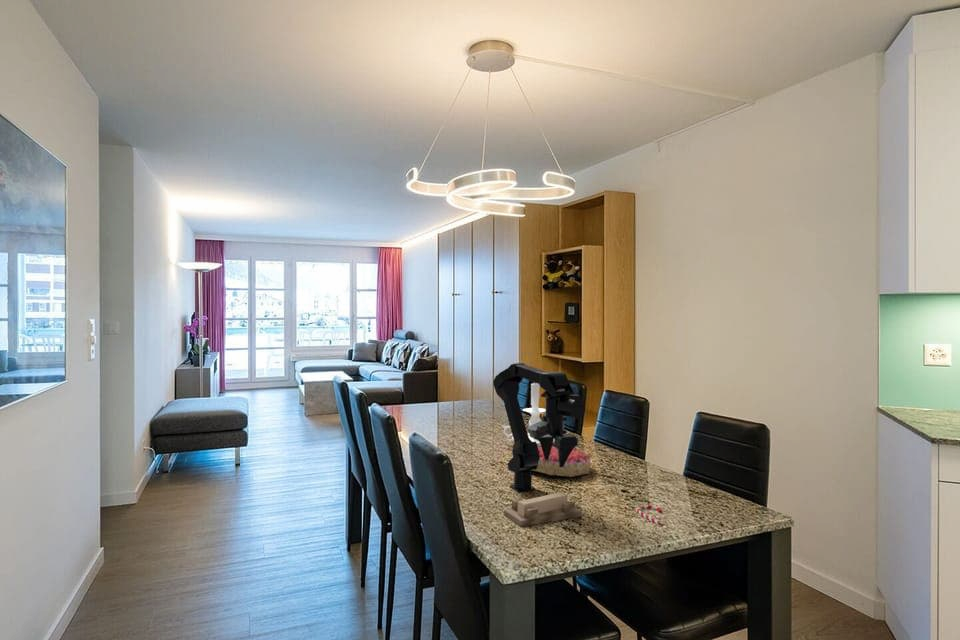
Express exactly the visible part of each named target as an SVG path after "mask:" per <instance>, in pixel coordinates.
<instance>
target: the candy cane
mask: <svg viewBox="0 0 960 640" xmlns="http://www.w3.org/2000/svg"><path fill="white" fill-rule="evenodd" d="M643 510H655V511H657V513H659V514H660V513H661V514H662V513H663V510H662V508H660V507H659V506H656V505H650V504H648V505H647V504H645V505H640V506H638V507H636V509H635V511H636V513H637V515H639V516H640V517H642V518H643V519H645V520H646V521H648V522H650V523H653V524H655V525H657V526H660V527H661V526H663V522H661V521H660V520H657V519H655V518H653V517H651V516H649V515H648V514H646V513H644V512H643Z"/></svg>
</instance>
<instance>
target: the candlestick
mask: <svg viewBox="0 0 960 640" xmlns="http://www.w3.org/2000/svg"><path fill="white" fill-rule="evenodd" d="M530 389H531V390H530V405H531V407H529V408H528V407H525V408H523V409H522V411H523V412H526V413H529V414H530V415H531V416H530V418H529V420H528V427H529V426H531V425H533V424H535V423H537V422H540V421H542V418H540V415H541V414H544V413H546V408H542V407H541V408H540V406H539V400H540V389H541V387H540V385H539V384H538V383H536V382H535V383H531V384H530ZM502 427H503V428H504V429H503V434H504V435H505V436H506V438H507V441H510V442H514V438H513V435H512V433H510V434H508V433H506V429H511V427H510V425H508V426H507V425H502ZM527 433H528V437H529V439H530V440H531V441H532V442H536V443H537V446H538V447H541V444H540V442H539V441H538V440H535V439H534V438H531V437H530V434H529V432H527ZM510 438H511V439H510ZM553 444H555V442H554V440H553Z"/></svg>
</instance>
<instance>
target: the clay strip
mask: <svg viewBox="0 0 960 640" xmlns="http://www.w3.org/2000/svg"><path fill="white" fill-rule="evenodd" d="M522 500H523V501H518V514H519V515H521V516H523V517H525V508H531V507H535V508H537V509H538V514H539V513H544V512H548V511H552V510H556V509H560V508H562V503H564V502H568V494H566V493H565V492H564V493H563V492H561V491H559V492H557V493H556V492H555V493H550V495H549V494H547V495H543V496H538V497H533V498H528V499H522Z"/></svg>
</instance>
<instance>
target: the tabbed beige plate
mask: <svg viewBox="0 0 960 640" xmlns="http://www.w3.org/2000/svg"><path fill="white" fill-rule="evenodd" d="M550 494H551V493H550ZM550 494H548V495H550ZM523 500H524V499H522V498H517V499H516V498H515V499H511V508H505V509H503V516H505V518H508V519H509V520H510V521H512V522H514V523H515V524H516V525H518V526H519V527H528V526H533V525H537V524H543V523H549V522H556V521H562V520H567V519H573V518H575V519H576V518H580V517H583V510H581V509H579V508H577V507H576V506H575V505H576V504H575V503H574V502H573V501H567V502H564V503H562V508H560V509H556V510H552V511H548V512H544V513H539V514H538V509H537V508H535V507H531V508H525V517H523V516H521V515H519V514H518V501H523Z"/></svg>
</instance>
